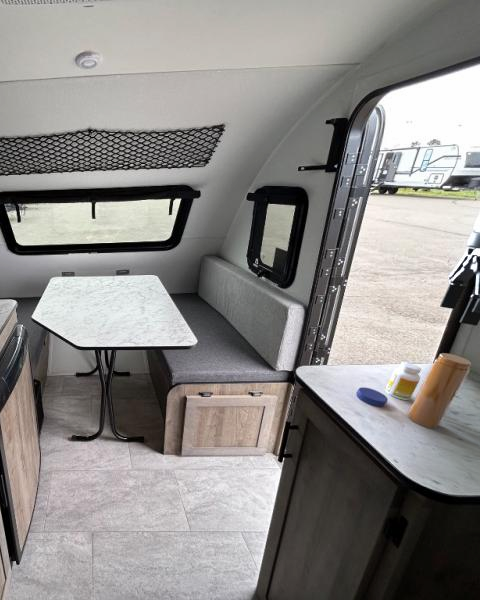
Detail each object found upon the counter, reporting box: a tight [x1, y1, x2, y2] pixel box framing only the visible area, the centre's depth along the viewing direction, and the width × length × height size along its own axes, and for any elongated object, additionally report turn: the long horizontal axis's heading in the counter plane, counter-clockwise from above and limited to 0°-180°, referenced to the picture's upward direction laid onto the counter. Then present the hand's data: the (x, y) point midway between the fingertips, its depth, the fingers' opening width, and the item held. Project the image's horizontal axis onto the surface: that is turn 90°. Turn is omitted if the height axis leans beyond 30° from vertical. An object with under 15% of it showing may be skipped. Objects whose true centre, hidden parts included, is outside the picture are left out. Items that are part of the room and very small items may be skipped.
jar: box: [406, 352, 472, 429], centre depth 80 cm, size 6×6×18 cm
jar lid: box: [356, 386, 389, 408], centre depth 90 cm, size 6×6×2 cm
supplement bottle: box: [385, 361, 422, 401], centre depth 92 cm, size 5×5×10 cm
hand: (456, 315), depth 83 cm, fingers open, 13 cm apart
